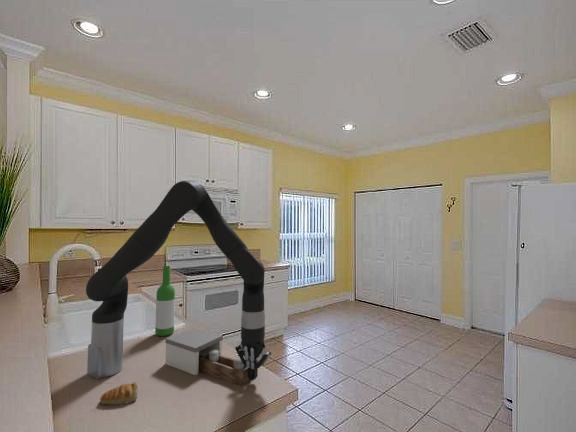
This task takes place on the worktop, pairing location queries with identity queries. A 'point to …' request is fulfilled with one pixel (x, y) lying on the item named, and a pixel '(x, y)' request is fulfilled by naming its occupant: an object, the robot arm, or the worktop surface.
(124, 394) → the pastry
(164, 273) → the wine bottle
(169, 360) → the counter bay
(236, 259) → the robot arm
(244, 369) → the caddy
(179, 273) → the worktop surface
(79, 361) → the worktop surface
